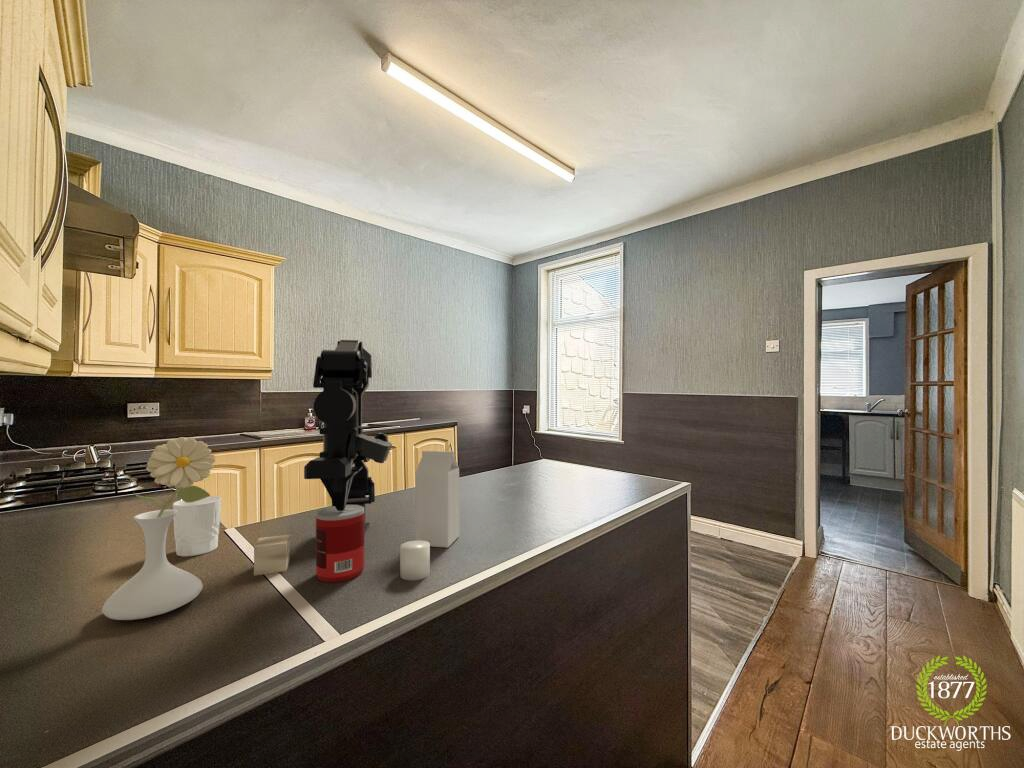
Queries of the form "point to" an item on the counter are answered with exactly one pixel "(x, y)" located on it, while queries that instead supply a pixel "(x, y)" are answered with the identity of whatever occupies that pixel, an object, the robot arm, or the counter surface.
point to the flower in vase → (163, 536)
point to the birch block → (271, 554)
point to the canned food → (340, 543)
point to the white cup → (197, 526)
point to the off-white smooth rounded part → (414, 560)
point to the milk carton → (437, 498)
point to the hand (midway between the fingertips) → (340, 510)
